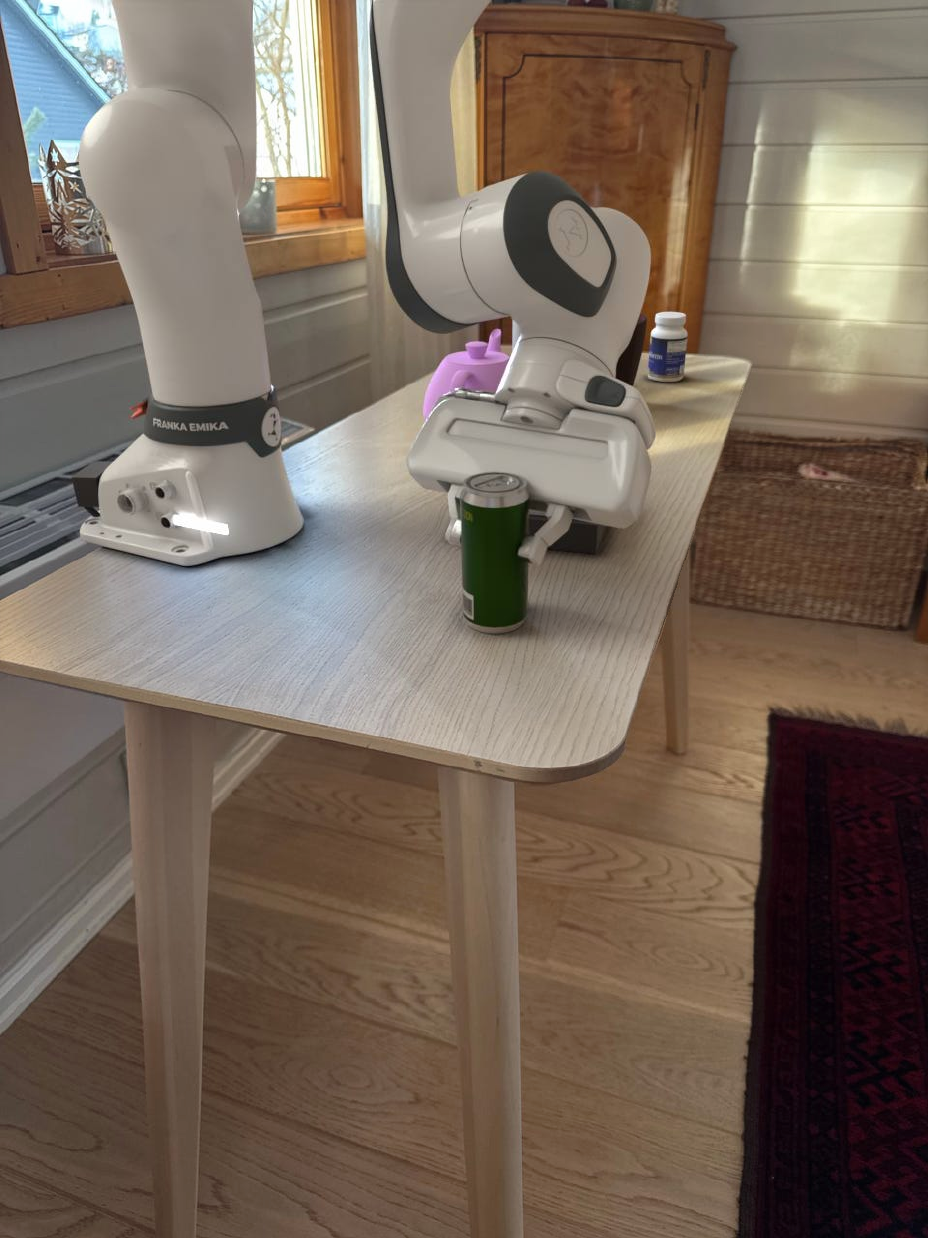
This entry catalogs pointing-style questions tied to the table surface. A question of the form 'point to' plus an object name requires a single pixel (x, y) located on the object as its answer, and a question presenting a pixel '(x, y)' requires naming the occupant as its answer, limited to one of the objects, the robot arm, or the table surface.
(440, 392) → the teapot
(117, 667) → the table surface
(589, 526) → the scale
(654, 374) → the pill bottle
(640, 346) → the mug
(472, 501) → the beer can
